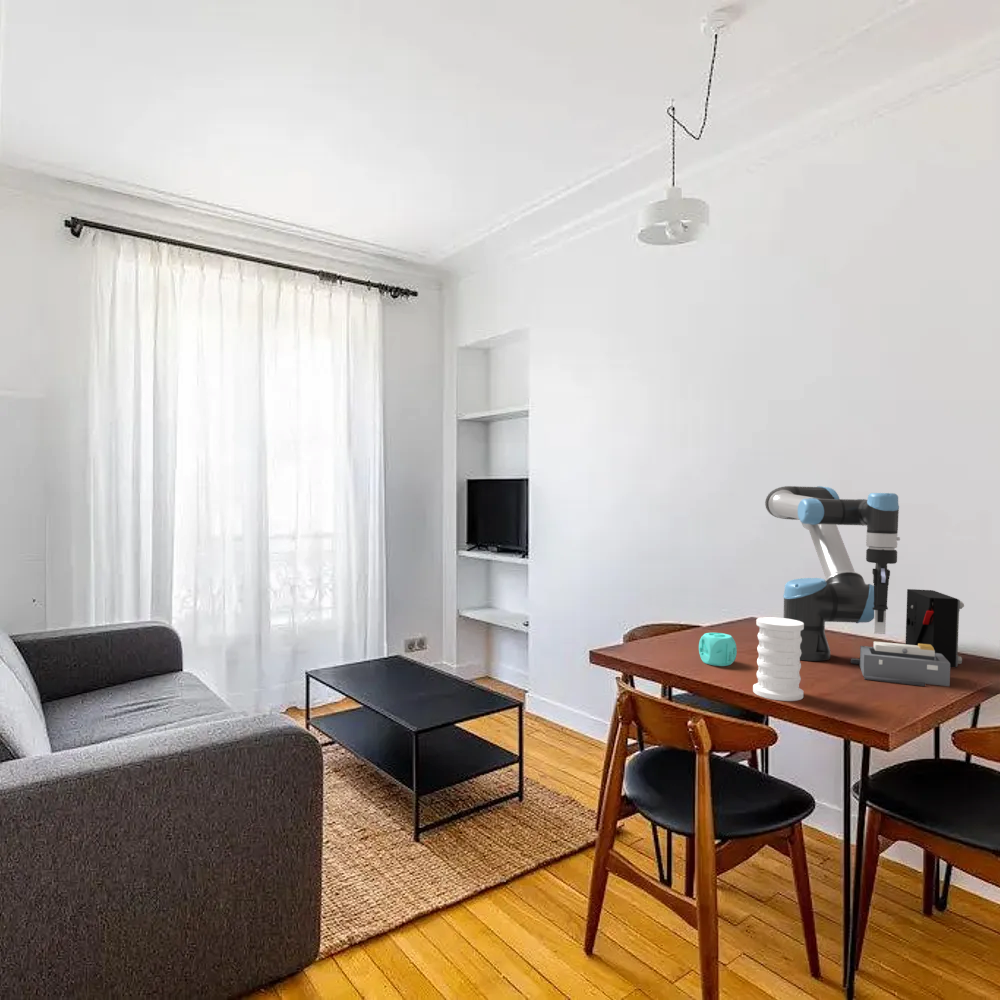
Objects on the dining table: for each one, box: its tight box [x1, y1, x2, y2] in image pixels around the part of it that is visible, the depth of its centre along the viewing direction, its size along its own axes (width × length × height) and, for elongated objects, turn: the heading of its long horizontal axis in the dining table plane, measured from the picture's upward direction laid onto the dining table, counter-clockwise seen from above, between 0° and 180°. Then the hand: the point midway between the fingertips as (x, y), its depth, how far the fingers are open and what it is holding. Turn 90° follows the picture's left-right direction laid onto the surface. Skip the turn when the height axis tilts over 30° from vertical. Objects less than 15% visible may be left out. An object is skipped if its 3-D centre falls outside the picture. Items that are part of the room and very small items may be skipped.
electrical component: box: [905, 588, 965, 668], centre depth 209 cm, size 18×10×20 cm, turn 168°
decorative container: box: [752, 616, 804, 702], centre depth 171 cm, size 12×12×18 cm
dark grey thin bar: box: [863, 676, 926, 687], centre depth 183 cm, size 14×1×1 cm, turn 67°
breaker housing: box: [859, 645, 951, 687], centre depth 190 cm, size 20×12×6 cm, turn 67°
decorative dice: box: [698, 632, 738, 667], centre depth 201 cm, size 8×8×8 cm
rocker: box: [873, 641, 935, 657], centre depth 190 cm, size 14×6×2 cm, turn 67°
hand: (879, 633), depth 192 cm, fingers closed
